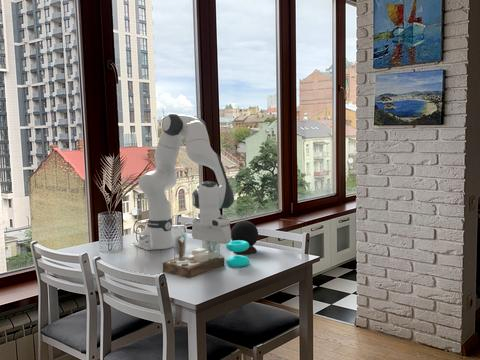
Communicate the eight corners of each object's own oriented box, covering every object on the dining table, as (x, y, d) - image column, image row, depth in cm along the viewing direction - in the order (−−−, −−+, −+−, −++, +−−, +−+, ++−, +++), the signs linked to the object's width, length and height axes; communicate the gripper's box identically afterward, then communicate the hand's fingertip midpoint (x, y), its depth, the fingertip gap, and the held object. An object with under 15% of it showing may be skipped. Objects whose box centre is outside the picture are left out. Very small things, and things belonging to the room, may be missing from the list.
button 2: (194, 264, 212) (193, 255, 212) (201, 261, 215) (200, 252, 215) (201, 265, 209) (201, 256, 209) (208, 263, 213) (208, 254, 212)
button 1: (182, 265, 217) (182, 256, 216) (190, 263, 220) (189, 254, 220) (189, 267, 214) (189, 257, 213) (197, 264, 217) (196, 255, 217)
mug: (225, 258, 229) (224, 236, 228) (207, 260, 227) (207, 238, 226) (217, 252, 241) (216, 231, 240) (200, 254, 238) (199, 233, 237)
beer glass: (181, 261, 227) (180, 228, 225) (169, 259, 231) (168, 227, 229) (191, 257, 233) (189, 225, 231) (179, 255, 237) (178, 224, 235)
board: (162, 271, 211) (162, 261, 211) (198, 260, 227) (197, 250, 227) (189, 278, 201) (188, 267, 200) (224, 266, 217) (224, 255, 216)
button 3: (192, 258, 221) (192, 249, 221) (199, 256, 224) (199, 247, 224) (199, 260, 218) (199, 251, 218) (206, 258, 222) (206, 249, 221)
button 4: (203, 261, 217) (203, 252, 216) (211, 258, 220) (210, 249, 219) (211, 262, 214) (211, 253, 213) (218, 260, 217) (218, 251, 217)
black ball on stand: (263, 253, 237) (262, 221, 235) (236, 256, 232) (235, 224, 230) (252, 247, 249) (251, 217, 247) (227, 250, 244) (226, 219, 243)
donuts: (253, 242, 216) (235, 246, 210) (254, 264, 217) (236, 269, 211) (239, 238, 224) (221, 242, 218) (240, 260, 225) (222, 264, 219)
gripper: (187, 218, 219) (189, 249, 221) (222, 223, 206) (224, 256, 208) (198, 216, 224) (199, 246, 225) (232, 220, 211) (234, 252, 212)
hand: (211, 251), depth 216 cm, fingers closed
